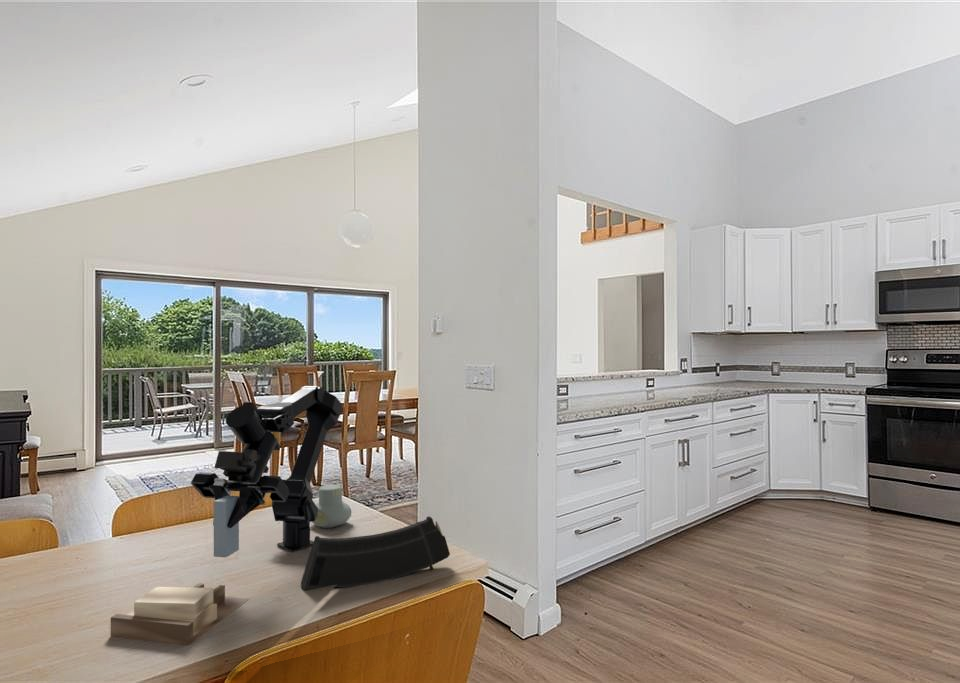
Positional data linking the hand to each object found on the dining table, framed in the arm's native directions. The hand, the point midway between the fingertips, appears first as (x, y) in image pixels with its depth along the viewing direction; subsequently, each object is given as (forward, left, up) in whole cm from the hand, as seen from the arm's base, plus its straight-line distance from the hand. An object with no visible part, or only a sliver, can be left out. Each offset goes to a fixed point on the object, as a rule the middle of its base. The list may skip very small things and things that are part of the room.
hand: (221, 526), depth 109 cm
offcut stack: (+6, -12, -12) cm, 18 cm away
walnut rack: (+5, -9, -13) cm, 17 cm away
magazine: (+17, +24, -14) cm, 33 cm away
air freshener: (-20, +40, -13) cm, 47 cm away
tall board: (-1, +1, -6) cm, 6 cm away
